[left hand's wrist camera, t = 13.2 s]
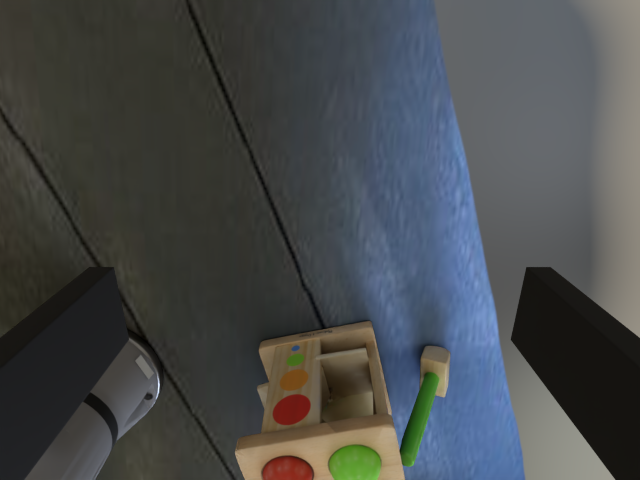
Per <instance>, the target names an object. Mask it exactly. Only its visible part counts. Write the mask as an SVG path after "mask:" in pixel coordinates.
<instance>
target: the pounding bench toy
mask: <svg viewBox="0 0 640 480" xmlns="http://www.w3.org/2000/svg"><path fill="white" fill-rule="evenodd" d="M259 354H260V357H261V360H262V362H263V365H264V368H265V371H266V374H267V377H268V380H269V382H268V383H265V384H262V385H258V386H257V390H258V393H259V395H260V398H261V401H262V403H263V406H264V409H265V411H264V417H263V423H262V430H261V433H260V434H254V435H249V436H244V437H241V438H239V439H238V441H237V445H236V450H235V455H236V458H237V461H238V464H239V466H240V468H241V471H242V473H243V476H244V478H245V480H405V477H404V472H403V466H402V464H403V465H404V466H407V467H410V466H413V465H414V462H415V459H416V456H417V453H418V450H419V446H420V443H421V440H422V437H423V434H424V430H425V427H426V424H427V421H428V417H429V414H430V411H431V407H432V404H433V401H434V397H435V395H437V396H440V397H445V395H446V391H447V387H448V380H449V366H450V352H449V351H448V350H447V349H445V348H441V347H437V346H425V348H424V351H423V353H422V356H421V361H420V390H419V393H418V396H417V399H416V402H415V405H414V407H413V410H412V413H411V416H410V419H409V422H408V424H407V427H406V430H405V433H404V436H403V438H402V443H401V447H400V451H399V446H398V441H397V436H396V432H395V427H394V423H393V419H392V416H391V414H392V411H391V406H390V401H389V397H388V393H387V388H386V383H385V379H384V375H383V370H382V365H381V361H380V357H379V352H378V348H377V343H376V339H375V335H374V330H373V326H372V322H371V321H366V322H360V323H355V324H349V325H344V326H338V327H333V328H327V329H322V330H317V331H311V332H306V333H301V334H295V335H290V336H285V337H280V338H274V339H269V340H264V341H262V342H261V344H260V347H259Z"/></svg>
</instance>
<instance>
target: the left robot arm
mask: <svg viewBox="0 0 640 480" xmlns="http://www.w3.org/2000/svg"><path fill="white" fill-rule="evenodd" d="M511 341H512V342H513V343H514V345H515V346H516V347H517V349H518V350H519V351H520V353H521V354H522V355H523V357H524V358H525V359H526V361H527V362H528V363H529V365H530V366H531V367H532V369H533V370H534V371H535V373H536V374H537V375H538V377H539V378H540V379H541V381H542V382H543V383H544V385H545V386H546V387H547V389H548V390H549V391H550V393H551V394H552V395H553V397H554V398H555V399H556V401H557V402H558V403H559V405H560V406H561V407H562V409H563V410H564V411H565V413H566V414H567V416H568V417H569V418H570V420H571V421H572V422H573V423H574V425H575V426H576V428H577V429H578V430H579V432H580V433H581V434H582V436H583V437H584V438H585V439H586V441H587V442H588V444H589V445H590V446H591V448H592V449H593V450H594V452H595V453H596V454H597V456H598V457H599V458H600V460H601V461H602V462H603V464H604V465H605V466H606V468H607V469H608V470H609V472H610V473H611V474H612V476H613V477H614V478H615V480H640V338H639V337H638V336H636V335H635V334H634V333H633V332H632V331H630V330H629V329H628V328H626V327H625V326H624V325H623V324H621V323H620V322H619V321H618V320H616V319H615V318H614V317H613V316H611V315H610V314H609V313H608V312H606V311H605V310H604V309H603V308H601V307H600V306H599V305H598V304H596V303H595V302H594V301H592V300H591V299H590V298H589V297H587V296H586V295H585V294H584V293H582V292H581V291H580V290H579V289H577V288H576V287H575V286H574V285H572V284H571V283H570V282H569V281H567V280H566V279H565V278H563V277H562V276H561V275H560V274H558V273H557V272H556V271H555V270H553V269H552V268H551V267H527V268H526V272H525V276H524V281H523V286H522V290H521V295H520V299H519V304H518V309H517V313H516V318H515V323H514V327H513V332H512V336H511ZM162 385H163V370H162V366H161V364H160V361H159V359H158V357H157V355H156V354H155V352H154V351H153V350H152V348H151V347H150V346H149V345H148V344H147V343H146V342H145V341H144V340H143V339H141V338H140V337H139V336H137V335H136V334H134V333H133V332H131V331H129V330H127V327H126V322H125V318H124V313H123V309H122V304H121V299H120V295H119V290H118V285H117V281H116V276H115V272H114V267H89V268H88V269H87V270H85V271H84V272H83V273H82V274H80V275H79V276H78V277H77V278H75V279H74V280H73V281H71V282H70V283H69V284H68V285H66V286H65V287H64V288H63V289H61V290H60V291H59V292H58V293H56V294H55V295H54V296H53V297H51V298H50V299H49V300H48V301H46V302H45V303H44V304H42V305H41V306H40V307H39V308H37V309H36V310H35V311H34V312H32V313H31V314H30V315H29V316H27V317H26V318H25V319H24V320H22V321H21V322H20V323H19V324H17V325H16V326H15V327H14V328H12V329H11V330H10V331H8V332H7V333H6V334H5V335H3V336H2V337H1V338H0V480H95V479H96V477H97V475H98V473H99V471H100V470H101V468H102V466H103V464H104V462H105V461H106V459H107V457H108V455H109V453H110V452H111V450H112V448H113V446H114V445H115V443H116V441H117V440H118V439H119V438H120V437H121V436H122V435H124V434H125V433H126V432H127V431H128V430H129V429H130V428H131V427H132V426H133V425H135V424H136V423H137V422H138V421H139V420H140V419H141V418H142V417H143V416H144V415H145V414H146V413H147V412H148V411H149V410H150V409H151V408H152V406H153V405H154V403H155V401H156V399H157V398H158V396H159V394H160V392H161V389H162Z"/></svg>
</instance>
